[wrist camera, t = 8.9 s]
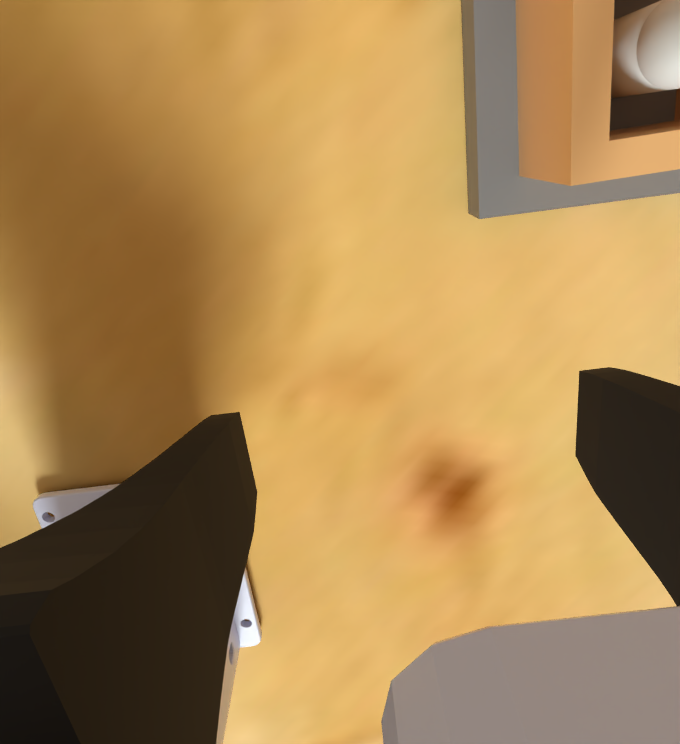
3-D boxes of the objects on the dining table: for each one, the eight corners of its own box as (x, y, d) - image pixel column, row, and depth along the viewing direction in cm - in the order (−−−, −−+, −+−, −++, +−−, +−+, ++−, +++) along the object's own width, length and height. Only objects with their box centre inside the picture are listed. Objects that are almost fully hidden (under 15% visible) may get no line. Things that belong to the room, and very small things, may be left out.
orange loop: (701, 147, 17) (803, 149, 13) (519, 176, 17) (570, 186, 14) (722, -75, 15) (852, -145, 11) (514, -39, 15) (574, -97, 11)
